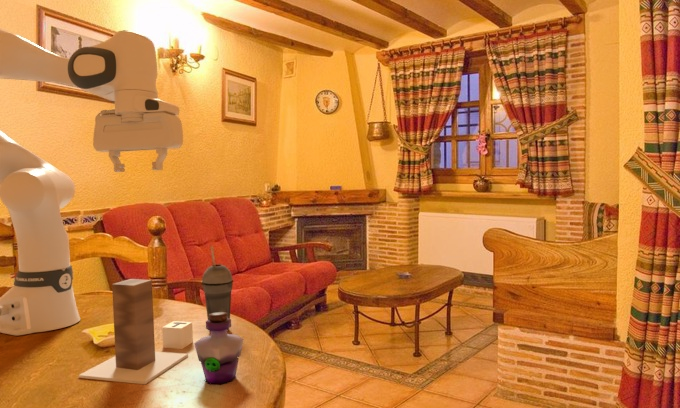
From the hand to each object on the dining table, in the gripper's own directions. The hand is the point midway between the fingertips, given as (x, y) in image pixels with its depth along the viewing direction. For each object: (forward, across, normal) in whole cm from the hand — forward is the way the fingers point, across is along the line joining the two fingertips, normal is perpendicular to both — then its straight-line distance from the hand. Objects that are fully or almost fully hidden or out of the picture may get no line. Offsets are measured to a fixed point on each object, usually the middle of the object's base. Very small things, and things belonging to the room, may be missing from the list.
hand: (138, 171), depth 111 cm
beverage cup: (+37, +12, +13) cm, 41 cm away
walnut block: (+38, +6, -11) cm, 40 cm away
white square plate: (+39, +6, -11) cm, 41 cm away
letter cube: (+38, +8, +2) cm, 39 cm away
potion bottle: (+39, +25, -13) cm, 49 cm away
